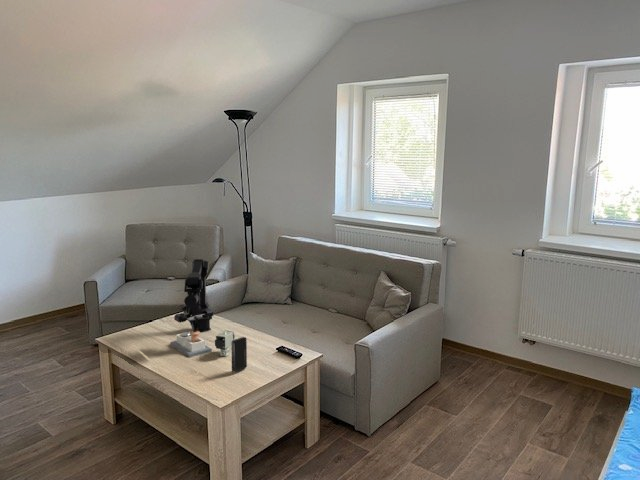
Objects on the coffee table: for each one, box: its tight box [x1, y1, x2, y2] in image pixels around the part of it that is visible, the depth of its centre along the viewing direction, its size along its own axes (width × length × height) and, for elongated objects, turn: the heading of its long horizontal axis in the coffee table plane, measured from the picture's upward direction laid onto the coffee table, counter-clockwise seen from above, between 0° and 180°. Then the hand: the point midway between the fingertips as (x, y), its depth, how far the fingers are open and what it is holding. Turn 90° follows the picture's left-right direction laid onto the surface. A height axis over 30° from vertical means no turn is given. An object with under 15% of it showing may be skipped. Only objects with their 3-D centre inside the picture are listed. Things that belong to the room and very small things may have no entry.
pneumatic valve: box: [214, 330, 236, 358], centre depth 243 cm, size 6×12×12 cm, turn 161°
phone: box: [230, 336, 248, 373], centre depth 225 cm, size 8×1×15 cm, turn 138°
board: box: [169, 333, 213, 358], centre depth 252 cm, size 12×22×6 cm, turn 40°
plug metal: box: [180, 331, 191, 338], centre depth 255 cm, size 5×5×5 cm
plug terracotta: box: [189, 330, 201, 343], centre depth 247 cm, size 5×5×5 cm
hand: (194, 331), depth 247 cm, fingers closed
